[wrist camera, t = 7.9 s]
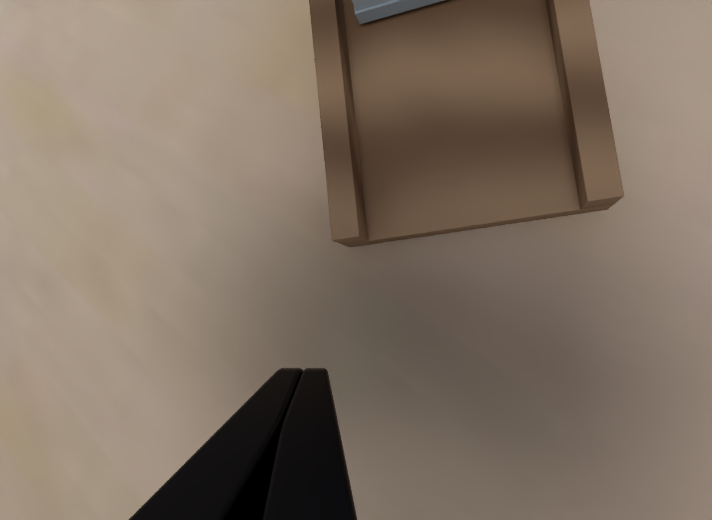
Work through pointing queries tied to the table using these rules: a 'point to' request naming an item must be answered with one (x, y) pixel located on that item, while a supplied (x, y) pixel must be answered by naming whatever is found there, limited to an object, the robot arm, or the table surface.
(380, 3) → the grey ledged block
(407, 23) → the bay
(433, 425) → the table surface
